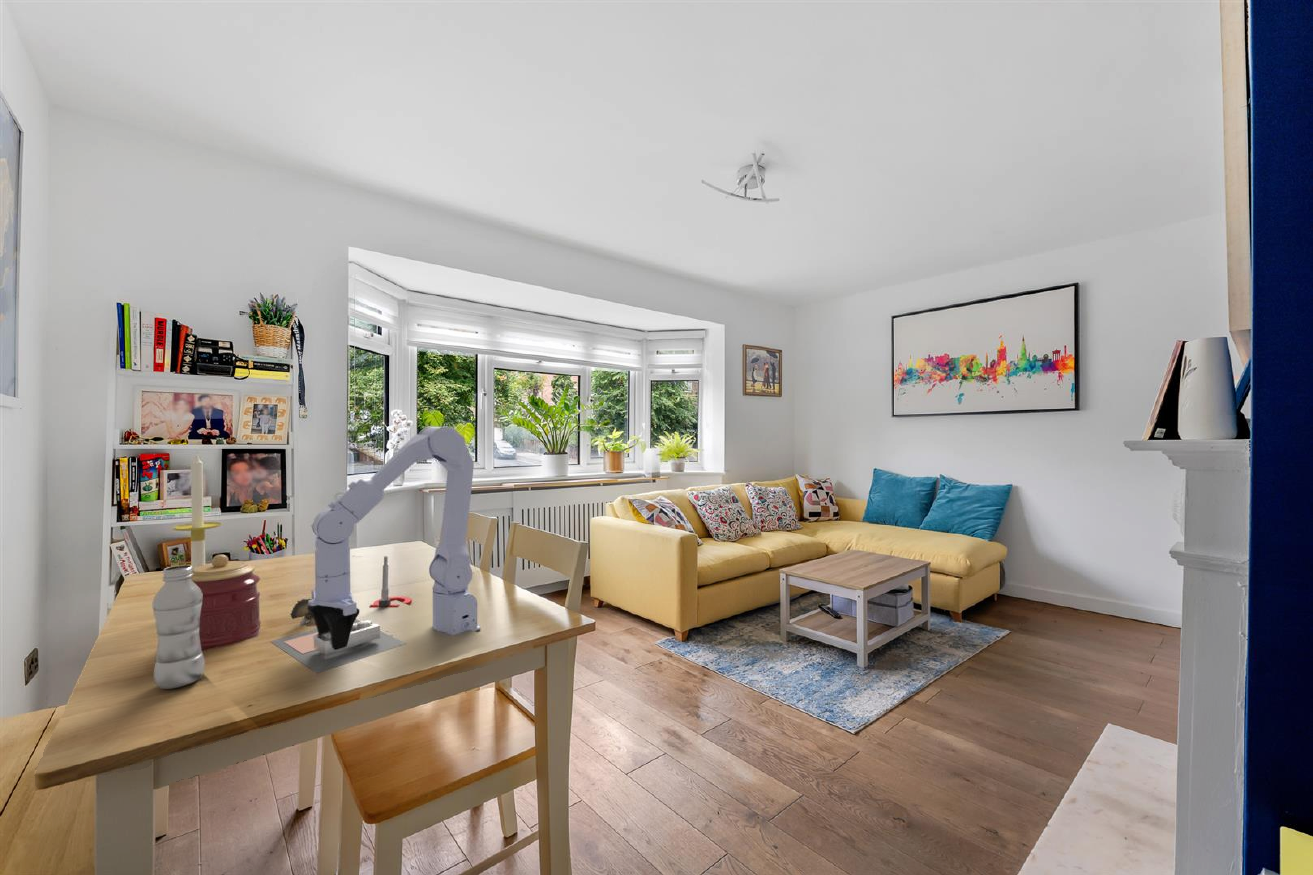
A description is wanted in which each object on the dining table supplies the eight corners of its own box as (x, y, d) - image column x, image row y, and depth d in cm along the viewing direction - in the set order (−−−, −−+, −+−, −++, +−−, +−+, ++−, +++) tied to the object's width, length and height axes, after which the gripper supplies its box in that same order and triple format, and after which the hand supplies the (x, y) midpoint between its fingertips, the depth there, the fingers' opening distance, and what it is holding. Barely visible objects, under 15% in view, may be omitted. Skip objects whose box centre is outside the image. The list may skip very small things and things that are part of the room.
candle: (159, 616, 122) (156, 452, 121) (208, 602, 132) (206, 450, 131) (188, 622, 119) (186, 453, 118) (236, 607, 129) (234, 451, 128)
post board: (406, 648, 107) (406, 623, 107) (317, 678, 94) (317, 650, 94) (354, 622, 120) (354, 600, 120) (270, 646, 107) (269, 621, 107)
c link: (380, 637, 107) (379, 625, 107) (325, 655, 99) (325, 641, 99) (367, 631, 110) (367, 619, 110) (313, 648, 102) (313, 635, 102)
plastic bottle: (215, 674, 95) (213, 562, 94) (182, 694, 88) (180, 573, 88) (177, 675, 95) (175, 562, 94) (142, 694, 88) (139, 573, 87)
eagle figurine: (285, 618, 119) (280, 624, 112) (306, 588, 122) (302, 591, 114) (319, 632, 122) (316, 639, 114) (339, 602, 125) (337, 607, 117)
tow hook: (383, 600, 136) (364, 611, 127) (384, 549, 136) (366, 556, 127) (417, 601, 136) (400, 612, 127) (418, 549, 137) (402, 557, 127)
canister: (272, 636, 112) (271, 552, 111) (195, 660, 101) (193, 566, 100) (243, 624, 118) (242, 544, 118) (167, 645, 107) (165, 557, 107)
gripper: (293, 571, 103) (294, 641, 104) (326, 585, 95) (327, 661, 95) (333, 563, 109) (334, 629, 109) (368, 576, 100) (368, 648, 101)
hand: (333, 643), depth 102 cm, fingers closed on c link, 5 cm apart
